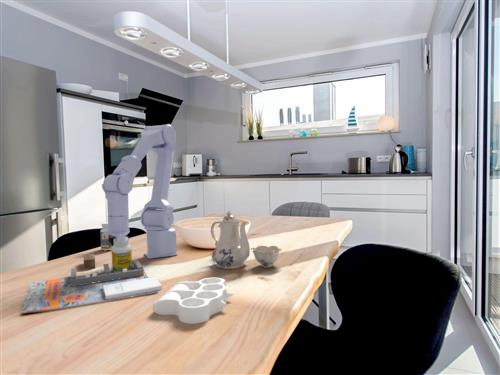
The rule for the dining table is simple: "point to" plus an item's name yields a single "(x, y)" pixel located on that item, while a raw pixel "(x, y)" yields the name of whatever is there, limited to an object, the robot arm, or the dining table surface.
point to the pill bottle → (105, 238)
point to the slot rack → (106, 274)
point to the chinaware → (238, 246)
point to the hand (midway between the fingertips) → (119, 261)
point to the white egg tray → (194, 300)
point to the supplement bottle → (121, 255)
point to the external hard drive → (131, 287)
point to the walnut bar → (89, 261)
